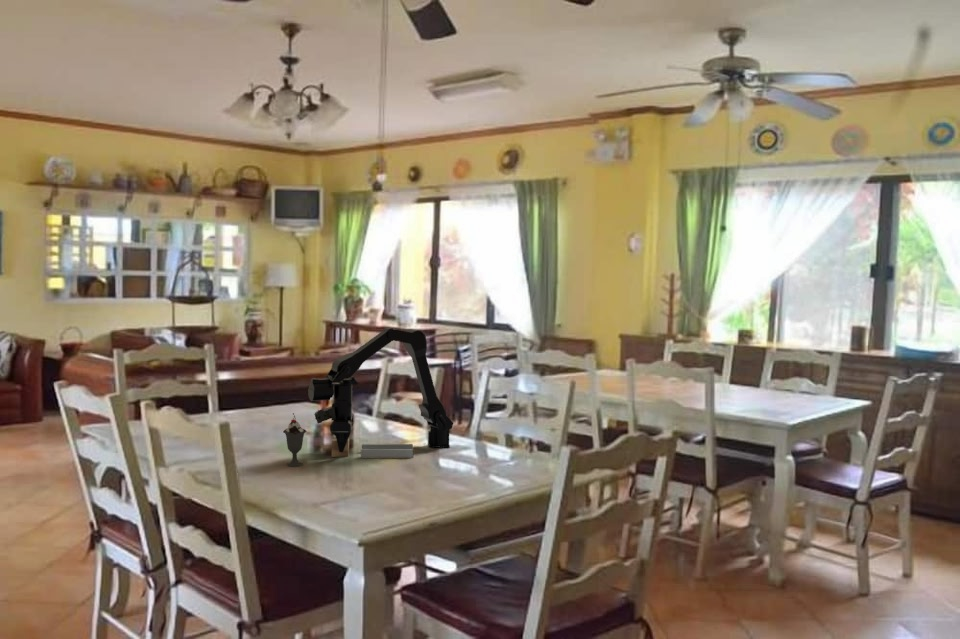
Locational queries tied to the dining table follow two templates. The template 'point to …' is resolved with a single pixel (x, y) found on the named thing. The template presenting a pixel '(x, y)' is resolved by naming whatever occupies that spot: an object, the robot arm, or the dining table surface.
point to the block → (336, 450)
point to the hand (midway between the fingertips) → (342, 448)
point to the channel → (387, 451)
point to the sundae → (294, 441)
